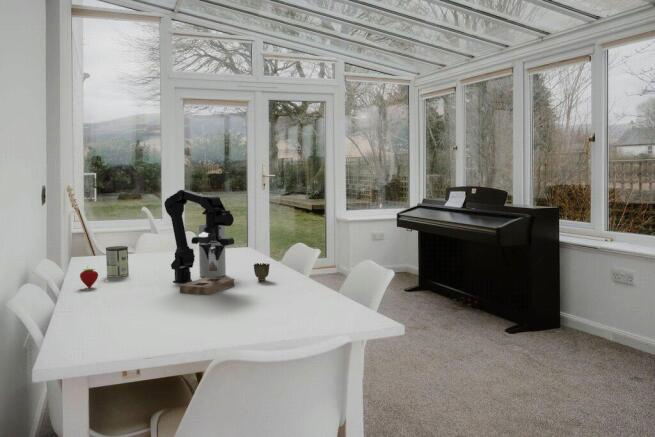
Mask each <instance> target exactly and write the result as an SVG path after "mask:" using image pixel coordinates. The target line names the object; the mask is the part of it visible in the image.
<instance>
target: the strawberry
mask: <svg viewBox="0 0 655 437" xmlns="http://www.w3.org/2000/svg"><path fill="white" fill-rule="evenodd" d="M88 267H89V265H87V267H86V268H85V269H84V270H82V272H81V273H80V275H79V278H80V281H81V282H82V283H83V284H84V285H85V286H86V287H87V288H92V286H93V285H94V284H95V283H96V282H97V280H98V277H99V273H98V271H95V270H96V268H88Z"/></svg>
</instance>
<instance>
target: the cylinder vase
mask: <svg viewBox="0 0 655 437" xmlns="http://www.w3.org/2000/svg"><path fill="white" fill-rule="evenodd" d="M219 227H221V229H219V236H221V238H226V226H219ZM204 228H206V223H205V224H199V225H198V236H199V235H200V234H201V233H203V232H204ZM221 238H220V239H221ZM199 245H200V243H198V258H199V259H198V260H199V263H198V264H199V276H200V277H201V278H205V277H217V278H223V277H224V276H225V275H226V274H227V272H226V271H227V270H226V246H225V247H224V249H223V251H222V253H221V255H220V258H219V260H218V270H217V271H209V261H208V259H207V256H206V254H205V251H204V249H203V248H202V247H201V246H199ZM215 245H217V243H211V247H215Z"/></svg>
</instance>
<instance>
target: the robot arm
mask: <svg viewBox="0 0 655 437" xmlns="http://www.w3.org/2000/svg"><path fill="white" fill-rule="evenodd" d="M188 201H189V202H191V203H195V204H198V205H199V206H200V207H201V208H203V209H204V211H203V212H201V214H202V215H205V224H206V228H204V232H203V233H201V234H200V235H199V234H198V235H197V236H193V237H192V238H191V244H192V245H193V244H195V245H198V247H199V246H201V247H202V248H203V249H204V251H205V254H206V256H207V259H208V248H210V247H211V243H217V245H215V248H216V260H217V261H218V260H219V258H220V255H221V253H222V251H223V249H224V247H225V248H226V247H227V246H231V245H234V244H235V239H234V238H233V237H225V238H221V236H219V229H221V227H219V226H225V227H231V226H232V225H233V224H234V220H235V219H234V218H235V217H234V216H233V214H232V213H231V210H230V209H229V210H227V209H226V207H225V206H224V204H223V203H222V200H221V197H220V196H215V195H205V194H200V193H198V192H194V191H192V190H189V189H179V190H177V192H175V193H174V194H172V195H170V196H169V197H167V198H166V199H165V200H164V204H163V205H164V209H165V211H166V213H167V215H168V216H169V217H170V218H171V223H172V224H171V226H172V229H173V233H174V240H175V244H176V245H175V246H176V249H175V252H174V259H173V261H172V262H171V263H170V267H171V270H174V280H172V283H180V284H186V283H189V282H192V281H193V279H191V278H192V277H191V274H192V272H191V268H193V266H194V262H195V257H196V256H195V253H194V252H195V251H194V248H190V246H189V245H188V241H187V235H186V228H185V224H184V219H183V214H184V211H185V205H186V204H187V203H188ZM220 238H221V239H220ZM199 243H200V245H199Z"/></svg>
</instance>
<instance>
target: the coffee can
mask: <svg viewBox="0 0 655 437" xmlns="http://www.w3.org/2000/svg"><path fill="white" fill-rule="evenodd" d="M128 248H129V247H128V246H125V245H124V246H123V245H117V246H107V247H105V258H106V260H105V261H106V277H107V278H123V277H128V276H129V249H128Z"/></svg>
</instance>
